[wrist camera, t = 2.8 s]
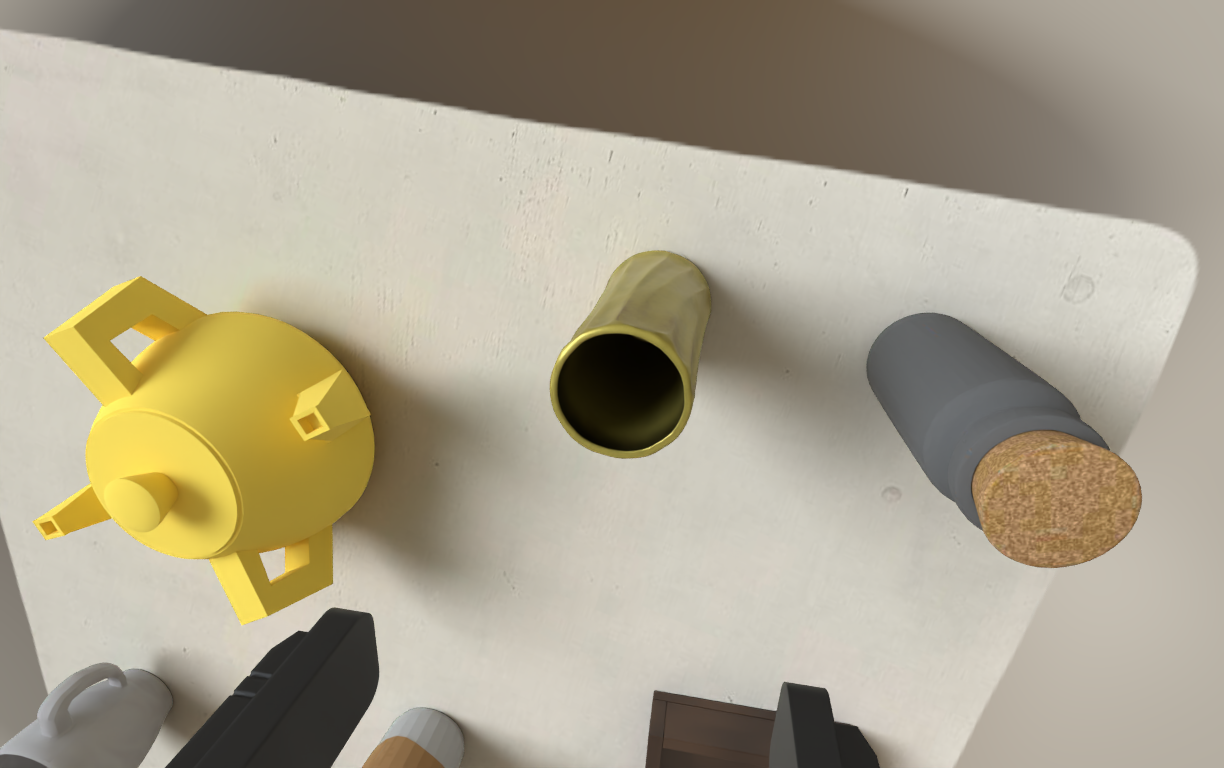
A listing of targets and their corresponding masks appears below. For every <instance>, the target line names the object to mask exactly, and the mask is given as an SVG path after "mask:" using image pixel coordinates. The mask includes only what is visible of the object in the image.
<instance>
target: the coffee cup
mask: <svg viewBox="0 0 1224 768" xmlns="http://www.w3.org/2000/svg"><path fill="white" fill-rule="evenodd" d="M463 755H464V738H463V735H462V732H461V730H460V728H459V727H458V725H457V724H456V723H455V722H454V721H453V720H452V719H451V718H449V717H448V716H446V715H445V714H443V713H441V712H438V711H436V710H433V709H428V708H414V709H410V710H408V711H406V712H405V713H403V714H402V715H401V716H399V717H397V718H396V720H395V721H394V722H393V723H392V725H391V726H390V728H389V729H388V731H387V732H386V734H385V735H384V737H383V738H382V740H381V741H380V743H379V744H378V746H377V747H376V748H375V750H374V751H373V752H372V754H371V755H370V756H369V758H368V759H367V761H366V762H365V764H364V765H363V767H362V768H459V766H460V763H461V760H462V757H463Z"/></svg>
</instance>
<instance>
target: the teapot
mask: <svg viewBox="0 0 1224 768" xmlns="http://www.w3.org/2000/svg"><path fill="white" fill-rule="evenodd" d="M129 328H133V329H135V330H136V331H138V332H140V333H142V334H144V335H146V336H147V337H149V338H151V339H153V340H155V342H154V343H152V344H151V345H150V346H148V347H147V348H146V349H145V350H144V351H142V352H141V353H140V354H139V355H138V356H137V357H136V358H135V359H134V360H133V361H132V362H130V361H129V360H128V359H127V358H126V357H125V356H124V355H123V354H122V353H121V352H120V351H119V350H118V349H117V348H116V347H115V346H114V345H113V344H112V343H111V342H110V340H112V339H113V338H115V337H117V336H118V335H120V334H121V333H123V332H124V331H126V330H128V329H129ZM44 339H45V340H46V342H47V343H48V344H49V345H50V346H51V347H52V348H53V349H54V351H55V352H56V353H57V354H58V355H59V356H60V357H61V358H62V360H63V361H64V362H65V363H66V364H67V365H68V366H69V367H70V369H71V370H72V371H73V372H74V373H75V374H76V375H77V376H78V378H79V379H80V380H81V381H82V382H83V383H84V384H85V385H86V387H87V388H88V389H89V390H90V391H91V392H92V393H93V394H94V395H95V397H96V398H97V399H98V400H99V401H100V402H101V403H102V404H103V405H102V407H101V409H100V411H99V413H98V415H97V417H96V418H95V420H94V423H93V426H92V428H91V431H90V434H89V437H88V440H87V444H86V466H87V472H88V476H89V480H90V482H91V483H90V484H89V485H87V486H86V487H84V488H83V489H81V490H80V491H78V492H77V493H75V494H74V495H72V496H71V497H69V498H68V499H66V500H65V501H64V502H62V503H61V504H59V505H58V506H56V507H55V508H53V509H52V510H50V511H49V512H47V513H46V514H44V515H42V516H41V517H39V518H38V519H36V520H34V521H32V522H33V523H34V524H35V526H36V527H37V529H38V530H39V532H40V533H41V534H42V536H43V537H44V539H45V540H48V539H52V538H56V537H61V536H65V535H66V534H68V533H70V532H73V531H76V530H79V529H82V528H85V527H88V526H91V525H94V524H97V523H100V522H102V521H105V520H108V519H111V518H112V519H113V520H114V521H115V522H116V523H117V524H118V525H119V526H120V527H121V528H122V529H123V530H124V531H126V532H127V533H128V534H129V535H131V536H132V537H133V538H135V539H136V540H137V541H139V542H141V543H142V544H144V545H146V546H148V547H150V548H152V549H153V550H156V551H158V552H161V553H164V554H167V555H170V556H174V557H178V558H184V559H209V561H210V563H211V565H212V567H213V569H214V571H215V573H216V575H217V577H218V579H219V581H220V583H221V585H222V587H223V589H224V591H225V593H226V595H227V597H228V599H229V601H230V603H231V605H232V607H233V609H234V611H235V613H236V615H237V617H238V619H239V621H240V623H241V625H244V624H247V623H250V622H253V621H255V620H258V619H261V618H264V617H267V616H269V615H271V614H273V613H275V612H277V611H279V610H281V609H283V608H285V607H287V606H289V605H291V604H293V603H295V602H297V601H299V600H301V599H303V598H305V597H307V596H309V595H311V594H313V593H315V592H317V591H319V590H321V589H323V588H325V587H327V586H329V585H331V584H333V537H332V523H334V522H336V521H337V520H338V519H339V518H340V517H341V516H343V515H344V514H345V513H346V512H347V511H348V510H350V509H351V508H352V507H353V506H354V505H355V503H356V502H357V501H358V500H359V499H360V497H361V495H362V494H363V492H364V490H365V488H366V486H367V483H368V481H369V478H370V475H371V472H372V468H373V463H374V452H375V444H374V433H373V428H372V424H371V419H370V415H371V413H370V412H369V410H368V409H367V407H366V404H365V402H364V400H363V398H362V395H361V393H360V391H359V389H358V387H357V386H356V384H355V383H354V381H353V379H352V378H351V376H350V375H349V374H348V372H347V371H346V370H345V368H344V367H343V366H342V365H341V363H340V362H339V361H338V360H337V359H336V358H335V357H334V356H333V355H332V354H331V353H330V352H329V351H328V350H327V349H325V348H324V347H323V346H322V345H321V344H319V343H318V342H317V341H316V340H314V339H313V338H311V337H310V336H308V335H307V334H305V333H304V332H302V331H301V330H299V329H297V328H295V327H293V326H291V325H289V324H287V323H285V322H282V321H279V320H277V319H274V318H271V317H267V316H263V315H259V314H252V313H244V312H220V313H215V314H209V315H207V314H205V313H203V312H202V311H200V310H198V309H196V308H195V307H193V306H191V305H190V304H188V303H186V302H184V301H183V300H181V299H179V298H178V297H176V296H174V295H172V294H171V293H169V292H167V291H165V290H164V289H162V288H160V287H159V286H157V285H155V284H153V283H152V282H150V281H148V280H147V279H145V278H143V277H141V276H140V277H137V278H135V279H132V280H129V281H127V282H124V283H122V284H119V285H117V286H114V287H113V288H111V289H110V290H108V291H107V292H106V293H104V294H103V295H102V296H100V297H99V298H97V299H96V300H95V301H93V302H92V303H91V304H89V305H88V306H86V307H85V308H84V309H82V310H81V311H80V312H78V313H77V314H75V315H74V316H73V317H71V318H70V319H69V320H67V321H66V322H65V323H63V324H62V325H60V326H59V327H58V328H56V329H55V330H54V331H52V332H51V333H49V334H48V335H47V336H45V337H44ZM283 547H285V573H283V574H282V575H280V576H278V577H277V578H275V579H273V580H271V581H270V582H269V579H268V576H267V574H266V571H265V568H264V566H263V563H262V561H261V558H260V555H259V553H263V552H267V551H272V550H276V549H280V548H283Z"/></svg>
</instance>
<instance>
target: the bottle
mask: <svg viewBox="0 0 1224 768" xmlns="http://www.w3.org/2000/svg"><path fill="white" fill-rule="evenodd" d="M867 378H868V381H869V384H870V386H871V388H872V390H873V392H874V394H875V395H876V397H877V399H878V400H879V402H880V404H881V405H882V407H883V409H884V410H885V412H886V414H887V415H888V417H889V418H890V420H891V421H892V423H893V425H894V426H895V428H896V429H897V431H898V432H899V434H900V435H901V437H902V439H903V440H904V442H905V443H906V445H907V446H908V448H909V450H910V451H911V453H912V454H913V456H914V457H915V459H916V460H917V462H918V463H919V465H920V466H921V468H922V469H923V471H924V472H925V474H926V475H927V477H928V478H929V480H930V481H931V483H932V484H933V485H934V486H935V487H936V488H937V489H938V490H939V491H940V492H941V493H942V494H943V495H945V496H946V497H948V498H949V499H951V500H952V501H954V502H956V504H957V506H958V507H959V508H960V510H961V511H962V513H963V514H964V515H965V516H966V518H967V519H968V520H969V521H970V522H971V523H973V524H974V525H975V526H976V527H978V528H979V529H981V530H982V531H983V532H984V534H985V535H986V537H987V538H988V540H989V542H990V543H991V544H992V545H993V546H994V547H995V548H996V549H997V550H998V551H1000V552H1001V553H1002V554H1004V555H1005V556H1007V557H1008V558H1010V559H1013V560H1015V561H1017V562H1020V563H1023V564H1026V565H1030V566H1035V567H1046V568H1059V567H1067V566H1072V565H1077V564H1080V563H1084V562H1087V561H1090V560H1092V559H1094V558H1096V557H1099V556H1101V555H1103V554H1104V553H1106V552H1107V551H1109V550H1110V549H1112V548H1113V547H1115V546H1116V545H1117V544H1118V543H1119V542H1120V541H1121V540H1123V539H1124V538H1125V537H1126V536H1127V534H1128V533H1129V532H1130V530H1131V529H1132V527H1133V526H1134V524H1135V522H1136V520H1137V518H1138V515H1139V512H1140V508H1141V503H1142V494H1141V486H1140V484H1139V481H1138V478H1137V477H1136V474H1135V472H1134V471H1133V470H1132V468H1131V467H1130V466H1129V465H1128V464H1127V463H1126V462H1125V461H1124V460H1123V459H1121V458H1120V457H1119V456H1118V455H1116V454H1115V453H1113V452H1111V451H1110V449H1109V447H1108V446H1107V444H1106V443H1105V441H1104V440H1103V438H1102V437H1101V436H1100V435H1099V434H1098V433H1097V432H1096V431H1095V430H1094V429H1092V428H1091V427H1090V426H1089V425H1087V424H1086V423H1085V422H1083V421H1082V420H1081V418H1080V415H1079V414H1078V412H1077V410H1076V408H1075V407H1074V406H1073V404H1072V403H1071V402H1070V401H1069V400H1068V399H1067V398H1066V397H1065V396H1064V395H1063V394H1062V393H1061V392H1059V391H1058V390H1057V389H1056V388H1054V387H1053V386H1052V385H1050V384H1049V383H1048V382H1046V381H1045V380H1044V379H1042V378H1041V377H1039V376H1038V375H1037V374H1035V373H1034V372H1032V371H1031V370H1030V369H1028V368H1027V367H1025V366H1024V365H1023V364H1021V363H1020V362H1018V361H1017V360H1015V359H1014V358H1013V357H1011V356H1010V355H1008V354H1007V353H1005V352H1004V351H1003V350H1001V349H1000V348H998V347H997V346H995V345H994V344H993V343H991V342H990V341H988V340H987V339H985V338H984V337H983V336H981V335H980V334H978V333H977V332H975V331H974V330H973V329H971V328H970V327H968V326H967V325H965V324H963V323H962V322H960V321H958V320H957V319H955V318H952V317H950V316H947V315H943V314H937V313H920V314H915V315H911V316H907V317H905V318H903V319H901V320H898V321H896V322H895V323H893V324H892V325H890V326H889V327H888V328H886V329H885V330H884V331H883V332H882V333H881V334H880V335H879V336H878V337H877V339H876V340H875V342H874V343H873V345H872V347H871V349H870V351H869V355H868V359H867Z"/></svg>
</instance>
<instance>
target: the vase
mask: <svg viewBox="0 0 1224 768" xmlns="http://www.w3.org/2000/svg"><path fill="white" fill-rule="evenodd" d="M710 313H711V295H710V289H709V287H708V284H707V282H706V280H705V278H704V277H703V275H702V273H701V272H700V271H699V269H698V268H697V267H696V266H695V265H694V264H693V263H691V262H690V261H689V260H687V259H685V258H683V257H681V256H679V255H676V254H674V253H670V252H667V251H647V252H642V253H639V254H636V255H634V256H632V257H630V258H628V259H627V260H626V261H624V262H623V263H622V264H621V265H620V266H619V267H618V268H617V269H616V270H615V271H614V272H613V274H612V275H611V277H610V279H609V281H608V284H607V286H606V289H605V290H604V292H603V294H602V295H601V297H600V298H599V300H598V302H597V304H596V306H595V307H594V309H593V311H592V312H591V313H590V315H589V316H588V317H587V318H586V320H585V321H584V322H583V323H582V325H581V326H580V327H579V328H578V330H577V331H576V332H575V334H574V336H573V338H572V340H571V341H570V342H569V343H568V344H567V345H566V346H565V347H564V348H563V349H562V351H561V352H560V354H559V356H558V358H557V361H556V363H555V366H554V368H553V371H552V374H551V379H550V397H551V402H552V406H553V410H554V412H555V414H556V416H557V418H558V420H559V421H560V423H561V424H562V426H563V427H564V429H565V430H566V431H567V433H568V434H569V435H570V436H571V437H572V438H573V439H574V440H575V441H576V442H578V443H579V444H581V445H582V446H584V447H585V448H587V449H589V450H591V451H593V452H597V453H600V454H603V455H606V456H610V457H614V458H622V459H625V458H640V457H646V456H649V455H652V454H654V453H656V452H657V451H659V450H661V449H662V448H664V447H666V446H667V445H669V444H670V443H671V442H673V441H674V440H675V439H676V438H677V437H678V436H679V435H680V433H681V432H682V431H683V429H684V427H685V426H686V424H687V421H688V419H689V417H690V414H691V410H692V406H693V402H694V398H695V388H696V381H697V372H698V364H699V358H700V352H701V347H702V342H703V338H704V333H705V329H706V325H707V322H708V319H709V316H710Z"/></svg>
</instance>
